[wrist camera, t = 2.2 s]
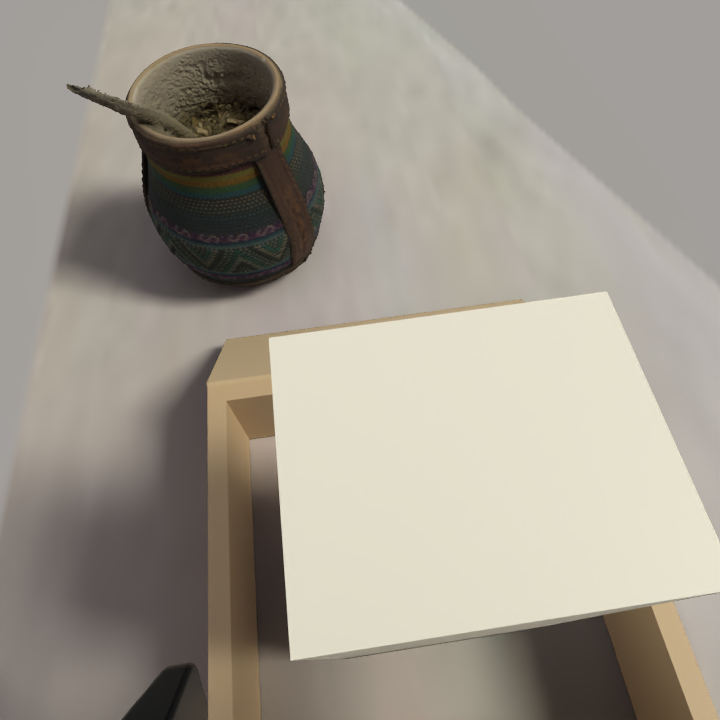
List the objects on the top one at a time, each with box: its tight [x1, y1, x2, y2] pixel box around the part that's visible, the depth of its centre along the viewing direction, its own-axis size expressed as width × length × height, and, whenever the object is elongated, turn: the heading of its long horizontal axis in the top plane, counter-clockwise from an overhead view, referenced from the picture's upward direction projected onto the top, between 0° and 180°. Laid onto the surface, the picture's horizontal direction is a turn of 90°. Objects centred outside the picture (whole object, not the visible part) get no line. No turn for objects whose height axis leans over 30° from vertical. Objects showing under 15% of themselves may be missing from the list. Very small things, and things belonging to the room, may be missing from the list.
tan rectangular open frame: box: [207, 299, 719, 720], centre depth 16 cm, size 19×12×4 cm, turn 8°
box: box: [269, 292, 720, 661], centre depth 13 cm, size 4×6×12 cm
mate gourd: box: [67, 43, 325, 288], centre depth 21 cm, size 7×8×10 cm
